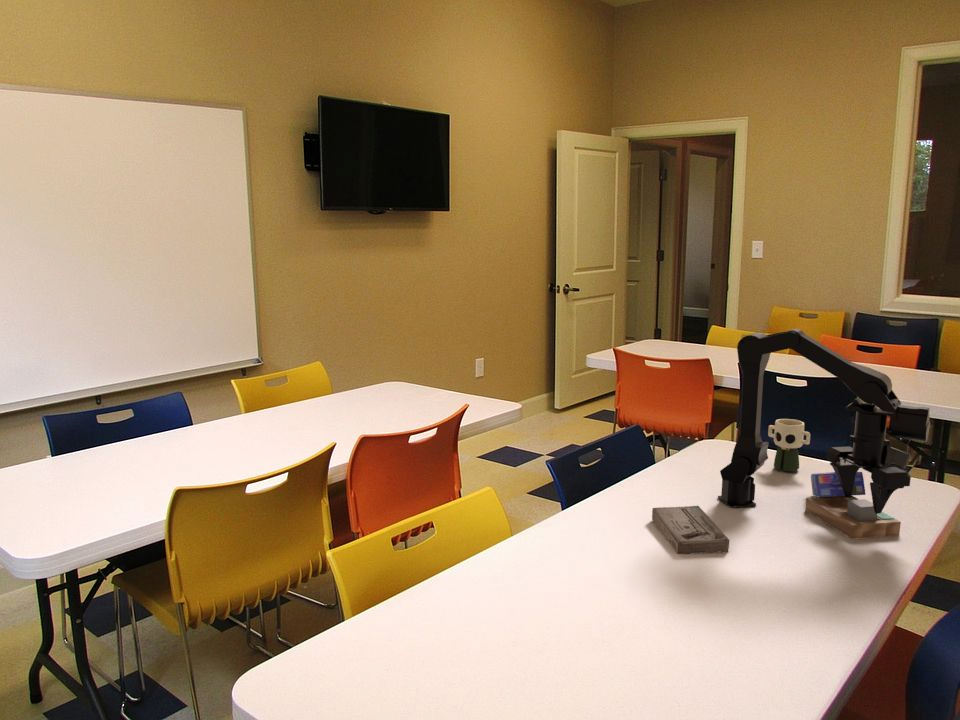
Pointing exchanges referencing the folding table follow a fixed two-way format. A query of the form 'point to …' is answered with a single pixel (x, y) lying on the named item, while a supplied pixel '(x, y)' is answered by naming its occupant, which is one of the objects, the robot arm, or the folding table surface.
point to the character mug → (788, 442)
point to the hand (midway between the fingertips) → (862, 505)
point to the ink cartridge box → (834, 485)
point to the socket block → (836, 516)
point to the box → (689, 530)
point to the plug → (861, 510)
